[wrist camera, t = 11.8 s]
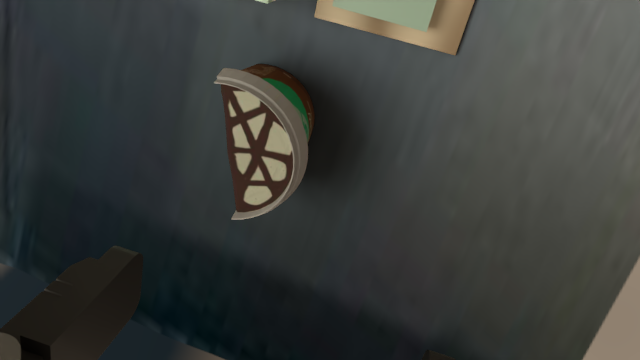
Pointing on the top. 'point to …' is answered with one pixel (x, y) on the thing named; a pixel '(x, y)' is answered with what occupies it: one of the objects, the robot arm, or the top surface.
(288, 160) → the food container
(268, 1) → the parts tub
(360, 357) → the top surface
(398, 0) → the lid piece
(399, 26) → the cork mat
